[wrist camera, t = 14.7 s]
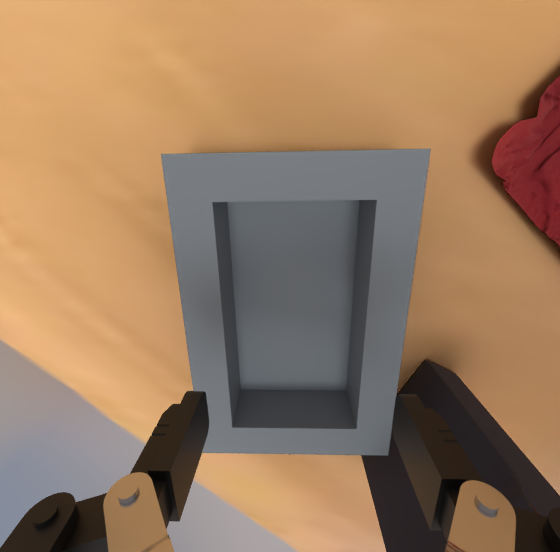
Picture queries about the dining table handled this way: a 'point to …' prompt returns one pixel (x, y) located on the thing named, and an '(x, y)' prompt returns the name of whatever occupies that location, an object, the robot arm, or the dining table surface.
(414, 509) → the dark bevelled slab
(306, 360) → the tray
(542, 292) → the dining table surface
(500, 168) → the plate with food
